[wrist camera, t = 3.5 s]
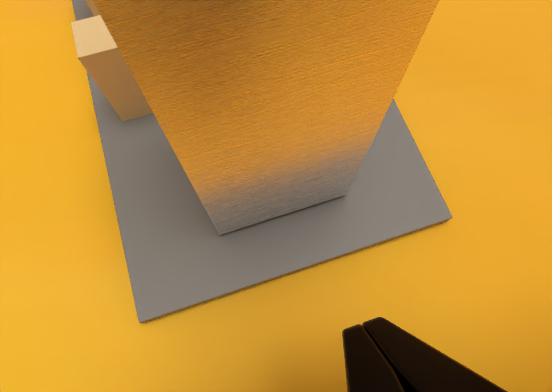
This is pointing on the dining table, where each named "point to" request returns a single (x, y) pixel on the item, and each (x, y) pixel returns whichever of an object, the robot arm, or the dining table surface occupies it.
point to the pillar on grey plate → (267, 91)
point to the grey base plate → (194, 218)
